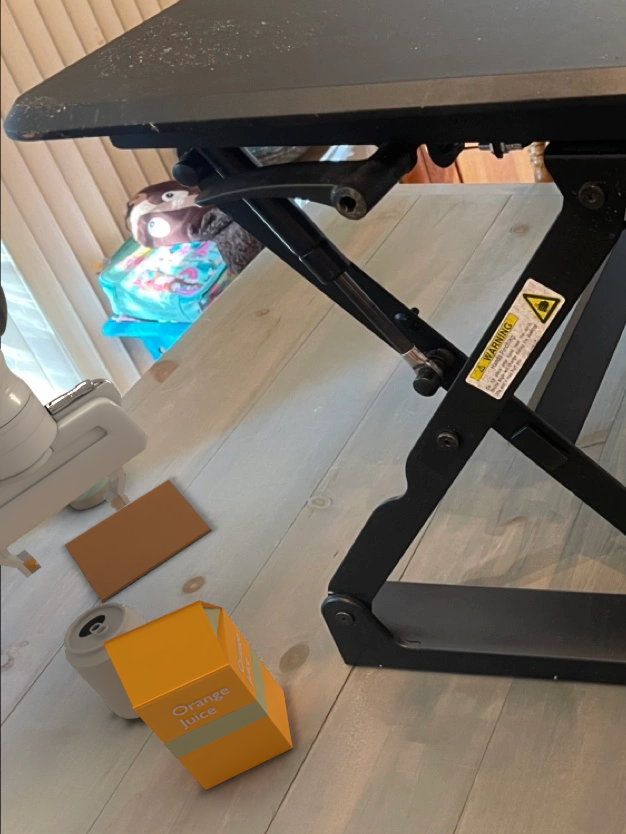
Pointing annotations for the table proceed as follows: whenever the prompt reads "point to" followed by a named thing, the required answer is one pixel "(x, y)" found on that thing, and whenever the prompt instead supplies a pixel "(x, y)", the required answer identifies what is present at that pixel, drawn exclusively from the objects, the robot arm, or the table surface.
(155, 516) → the mat
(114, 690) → the can
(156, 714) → the orange juice
